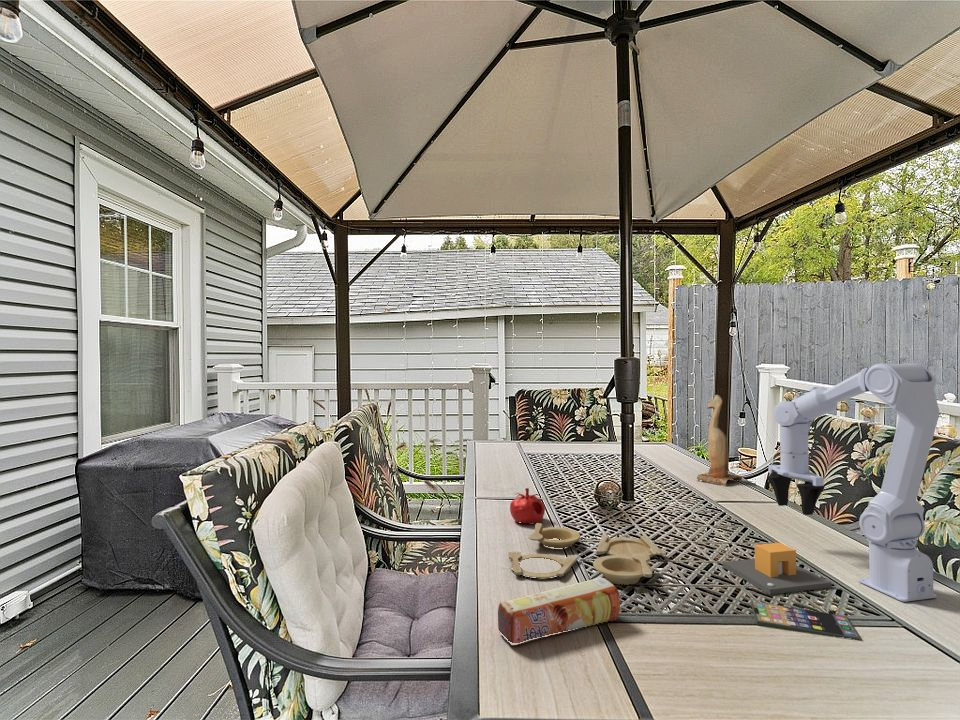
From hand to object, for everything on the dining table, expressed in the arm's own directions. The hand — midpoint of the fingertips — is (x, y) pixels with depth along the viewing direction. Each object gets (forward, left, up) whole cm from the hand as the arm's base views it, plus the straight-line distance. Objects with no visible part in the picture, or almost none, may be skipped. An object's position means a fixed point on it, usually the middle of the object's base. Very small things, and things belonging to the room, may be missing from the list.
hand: (794, 509), depth 124 cm
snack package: (-22, +66, -10) cm, 71 cm away
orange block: (-12, +16, -8) cm, 22 cm away
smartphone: (-29, +25, -10) cm, 40 cm away
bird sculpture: (+64, -26, -10) cm, 70 cm away
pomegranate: (+36, +55, -10) cm, 66 cm away
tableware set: (+6, +50, -10) cm, 51 cm away
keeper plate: (-12, +16, -9) cm, 22 cm away
